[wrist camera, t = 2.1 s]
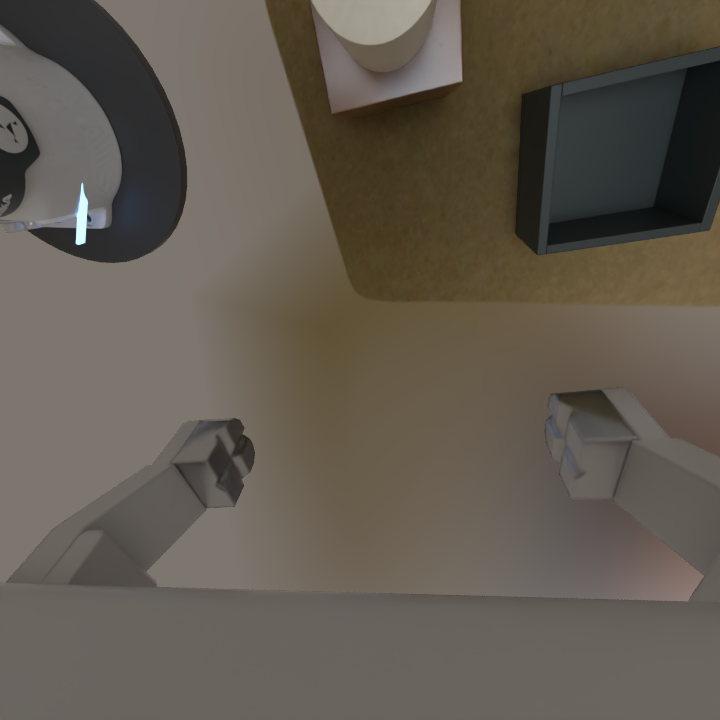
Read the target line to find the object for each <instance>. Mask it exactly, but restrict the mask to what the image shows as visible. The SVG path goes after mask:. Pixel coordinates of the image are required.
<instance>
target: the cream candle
mask: <svg viewBox="0 0 720 720" xmlns="http://www.w3.org/2000/svg"><path fill="white" fill-rule="evenodd" d="M311 1H312V3H313V5H314V7H315V8H316V10H317V12H318V13H319V15H320V16H321V18H322V19H323V20H324V22H325V23H326V24H327V26H328V27H329V28H330V29H331V31H332V32H333V33H334V34H335V36H336V37H337V38H338V40H339V41H340V42H341V43H342V45H343V46H344V47H345V49H346V50H347V51H348V52H349V54H350V55H351V56H352V58H353V59H354V60H355V61H356V62H357V63H359V64H360V65H361V66H363V67H365V68H367V69H369V70H372V71H375V72H389V71H393V70H396V69H399V68H400V67H402V66H404V65H405V64H407V63H408V62H409V61H410V60H411V59H412V58H414V56H415V55H416V54H417V53H418V52H419V50H420V49H421V47H422V46H423V44H424V42H425V40H426V38H427V36H428V33H429V31H430V28H431V25H432V21H433V17H434V13H435V9H436V4H437V0H311Z"/></svg>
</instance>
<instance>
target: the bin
mask: <svg viewBox="0 0 720 720" xmlns="http://www.w3.org/2000/svg"><path fill="white" fill-rule="evenodd" d="M719 201H720V46H719V47H715V48H710V49H706V50H702V51H698V52H693V53H689V54H685V55H681V56H676V57H672V58H668V59H663V60H659V61H655V62H651V63H646V64H642V65H638V66H633V67H629V68H625V69H621V70H616V71H612V72H608V73H603V74H599V75H595V76H591V77H586V78H582V79H578V80H574V81H569V82H565V83H561V84H556V85H552V86H549V87H545V88H542V89H538V90H535V91H532V92H528V93H525V94H523V95H522V110H521V131H520V152H519V172H518V193H517V214H516V235H517V236H518V237H519V238H520V239H521V240H522V241H523V242H524V243H525V244H526V245H527V246H528V247H529V248H530V249H531V250H532V251H533V252H534V253H535V254H536V255H543V254H551V253H558V252H565V251H572V250H578V249H585V248H592V247H599V246H606V245H613V244H620V243H627V242H634V241H640V240H647V239H654V238H661V237H668V236H675V235H682V234H689V233H696V232H702V231H709V230H710V228H711V225H712V222H713V219H714V216H715V213H716V210H717V207H718V204H719Z"/></svg>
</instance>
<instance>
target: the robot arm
mask: <svg viewBox="0 0 720 720" xmlns="http://www.w3.org/2000/svg"><path fill="white" fill-rule="evenodd" d="M121 177H122V160H121V154H120V149H119V145H118V142H117V139H116V136H115V133H114V131H113V128H112V126H111V124H110V122H109V120H108V118H107V116H106V115H105V113H104V111H103V110H102V108H101V106H100V105H99V104H98V102H97V101H96V99H95V98H94V97H93V95H92V94H91V93H90V92H89V91H88V89H87V88H86V87H85V86H84V85H83V84H82V83H81V82H80V81H79V80H78V79H77V78H76V77H75V76H73V75H72V74H71V73H70V72H69V71H67V70H66V69H65V68H63V67H62V66H60V65H59V64H57V63H55V62H54V61H52V60H50V59H48V58H46V57H44V56H41V55H39V54H37V53H35V52H33V51H32V50H30V49H29V48H27V47H26V46H25V45H24V44H23V43H22V42H21V41H20V40H19V39H18V38H17V37H16V36H15V35H13V34H12V33H11V32H10V31H9V30H8V29H6V28H5V27H3V26H2V25H0V224H1V226H2V228H3V229H4V231H6V233H16V232H22V231H26V230H30V229H36V228H41V227H59V228H77V233H76V244H78V245H80V244H82V243H85V236H86V228H89V229H102V228H108V227H109V226H110V225H111V223H112V202H113V199H114V197H115V195H116V193H117V191H118V189H119V186H120V183H121ZM89 216H90V217H91V219H90V218H89ZM547 407H548V409H549V411H550V413H551V416H550V417H549V418H548V419H546V421H545V438H546V443H547V447H548V450H549V452H550V455H551V457H552V459H553V460H555V461H557V462H558V463H559V464H560V465H561V466H560V472H559V475H560V477H561V479H562V482H563V484H564V486H565V488H566V490H567V493H568V495H569V497H570V499H613V501H614V502H615V503H616V504H617V505H618V506H620V507H621V508H622V509H623V510H625V511H626V512H627V513H628V514H629V515H631V516H632V517H633V518H634V519H636V520H637V521H638V522H639V523H640V524H642V525H643V526H644V527H645V528H646V529H648V530H649V531H650V532H651V533H653V534H654V535H655V536H656V537H657V538H659V539H660V540H661V541H662V542H664V543H665V544H666V545H667V546H668V547H670V548H671V549H672V550H673V551H674V552H676V553H677V554H678V555H679V556H681V557H682V558H683V559H684V560H685V561H687V562H688V563H689V564H690V565H692V566H693V567H694V568H695V569H696V570H698V571H699V572H700V573H701V574H702V575H704V578H703V579H702V580H701V582H700V583H699V585H698V586H697V588H696V589H695V591H694V592H693V594H692V596H691V597H690V599H689V602H684V601H683V602H682V601H648V600H647V601H645V600H609V599H575V598H539V597H503V596H502V597H501V596H467V595H464V596H463V595H431V594H430V595H429V594H392V593H359V592H358V593H357V592H322V591H285V590H284V591H283V590H247V589H244V590H243V589H208V588H169V587H157V583H156V581H155V580H154V579H153V578H152V577H151V576H150V575H149V574H148V573H147V572H146V571H147V570H148V569H149V568H150V567H151V566H152V565H153V564H154V563H155V562H156V561H157V560H158V559H159V558H160V557H161V556H162V555H163V554H164V553H165V552H166V551H167V550H168V549H169V548H170V547H171V545H172V544H173V543H175V541H177V539H178V538H179V537H180V536H181V535H182V534H183V533H184V532H185V531H186V530H187V529H188V528H189V527H190V526H191V525H192V524H193V523H194V522H195V521H196V520H197V519H198V518H199V517H200V516H201V515H202V514H203V513H204V512H205V511H206V508H222V507H235V505H236V502H237V500H238V498H239V496H240V493H241V491H242V489H243V487H244V484H243V480H242V478H244V477H245V476H246V475H247V474H248V473H250V471H251V469H252V466H253V464H254V456H255V452H254V447H253V444H252V442H251V440H250V439H249V438H248V437H246V436H245V435H243V431H244V426H243V425H242V423H241V421H240V420H239V419H235V418H229V419H210V420H199V421H188V422H186V423H184V424H183V425H182V426H181V428H180V429H179V430H178V431H177V433H176V434H175V435H174V437H173V438H172V439H171V441H170V442H169V443H168V445H167V446H166V447H165V449H164V450H163V451H162V452H161V454H160V455H159V456H158V458H157V459H156V461H155V462H154V463H153V464H152V465H150V466H146V467H144V468H143V469H141V470H140V471H138V472H137V473H135V474H134V475H132V476H131V477H129V478H128V479H126V480H125V481H123V482H122V483H120V484H119V485H117V486H116V487H114V488H113V489H111V490H110V491H108V492H107V493H105V494H104V495H102V496H101V497H100V498H98V499H96V500H95V501H93V502H92V503H91V504H89V505H87V506H86V507H85V508H83V509H82V510H80V511H78V512H77V513H75V514H74V515H72V516H71V517H69V518H68V519H67V520H65V521H64V522H62V523H61V524H59V525H58V526H56V527H55V528H53V529H52V530H51V531H50V533H49V534H48V535H47V536H46V537H45V538H44V539H43V541H42V542H41V543H40V544H39V545H38V546H37V547H36V549H35V550H34V551H33V552H32V553H31V554H30V555H29V556H28V557H27V559H26V560H25V561H24V562H23V563H22V564H21V565H20V567H19V568H18V569H17V570H16V571H15V572H14V573H13V575H12V576H11V577H10V578H9V579H8V580H7V582H6V583H0V720H720V458H719V457H717V456H715V455H713V454H711V453H709V452H707V451H705V450H703V449H701V448H699V447H697V446H694V445H692V444H690V443H688V442H686V441H684V440H682V439H680V438H674V439H671V438H670V437H669V436H668V435H667V434H666V432H665V431H664V430H663V429H662V428H661V427H660V426H659V424H658V423H657V422H656V421H655V420H654V419H653V418H652V416H651V415H650V414H649V413H648V412H647V411H646V410H645V409H644V407H643V406H642V405H641V404H640V403H639V402H638V401H637V399H636V398H635V397H634V396H633V395H632V394H631V393H630V391H629V390H628V389H626V388H624V387H616V388H605V389H598V390H588V391H577V392H564V393H552V394H550V396H549V398H548V404H547Z"/></svg>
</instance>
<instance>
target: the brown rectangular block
mask: <svg viewBox="0 0 720 720" xmlns="http://www.w3.org/2000/svg"><path fill="white" fill-rule="evenodd" d="M309 3H310V8H311V13H312V18H313V23H314V29H315V34H316V39H317V44H318V49H319V54H320V59H321V65H322V70H323V75H324V80H325V85H326V90H327V96H328V101H329V106H330V111H331V114H332V115H337V116H342V117H348V118H358V117H362V116H366V115H370V114H375V113H379V112H383V111H387V110H391V109H395V108H399V107H404V106H408V105H412V104H416V103H420V102H424V101H428V100H433V99H437V98H441V97H445V96H447V95H448V94H449V93H450V92H451V91H453V90H454V89H455V88H456V87H458V86H459V85H460V84H461V83H462V82H463V45H462V4H461V0H437V4H436V9H435V13H434V17H433V21H432V25H431V28H430V31H429V33H428V36H427V38H426V40H425V42H424V44H423V46H422V47H421V49H420V50H419V52H418V53H417V54H416V55H415V56H414V58H412V59H411V60H410V61H409V62H408V63H407V64H405V65H404V66H402V67H400V68H399V69H396V70H393V71H389V72H375V71H372V70H369V69H367V68H365V67H363V66H361V65H360V64H359V63H357V62H356V61H355V60H354V59H353V58H352V56H351V55H350V54H349V52H348V51H347V50H346V49H345V47H344V46H343V45H342V43H341V42H340V41H339V40H338V38H337V37H336V36H335V34H334V33H333V32H332V31H331V29H330V28H329V27H328V26H327V24H326V23H325V22H324V20H323V19H322V18H321V16H320V15H319V13H318V12H317V10H316V8H315V7H314V5H313V3H312V1H311V0H309Z"/></svg>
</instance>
